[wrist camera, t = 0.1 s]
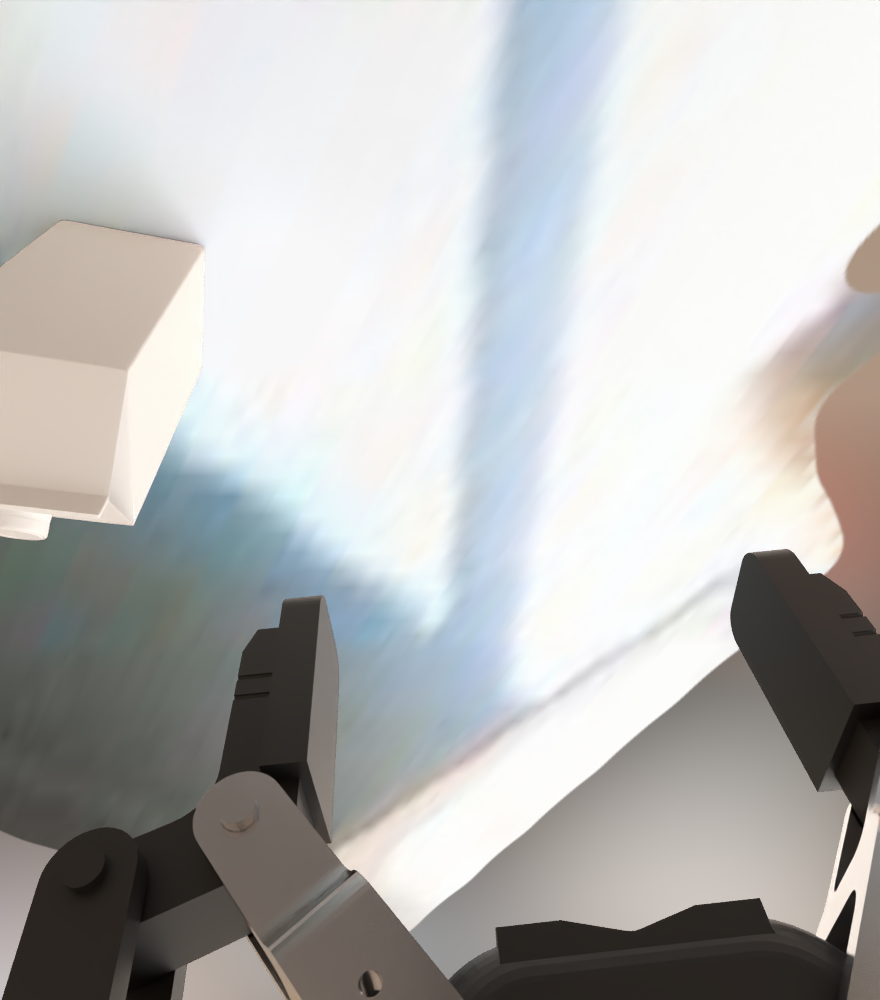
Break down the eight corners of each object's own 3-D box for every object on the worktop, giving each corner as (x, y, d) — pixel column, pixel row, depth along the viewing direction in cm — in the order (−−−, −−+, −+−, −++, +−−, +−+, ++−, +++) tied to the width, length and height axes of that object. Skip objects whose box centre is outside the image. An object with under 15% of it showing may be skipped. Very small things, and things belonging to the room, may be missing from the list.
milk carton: (60, 217, 36) (-167, 391, 21) (206, 244, 38) (92, 426, 22) (71, 347, 40) (-114, 574, 25) (203, 368, 42) (104, 594, 26)
